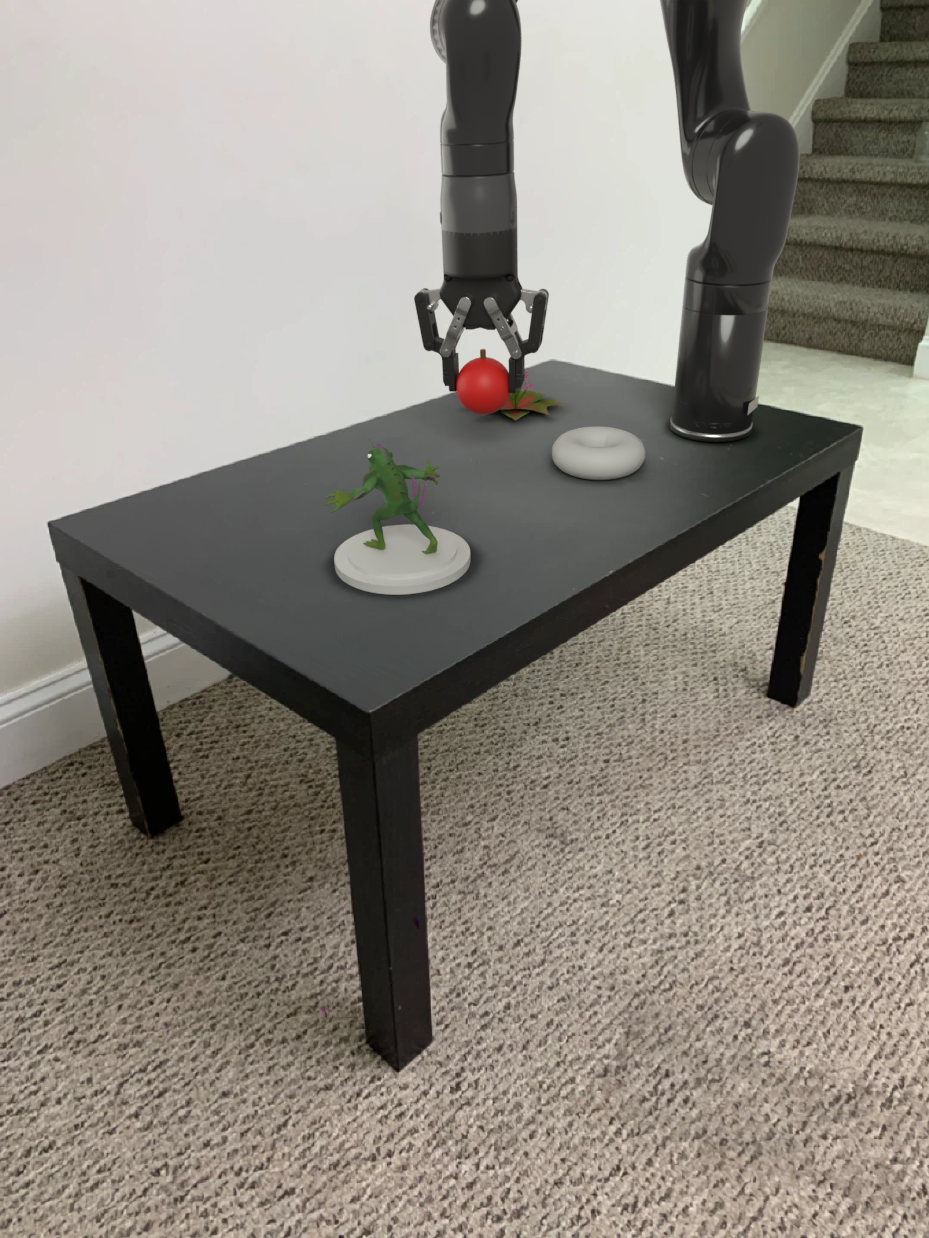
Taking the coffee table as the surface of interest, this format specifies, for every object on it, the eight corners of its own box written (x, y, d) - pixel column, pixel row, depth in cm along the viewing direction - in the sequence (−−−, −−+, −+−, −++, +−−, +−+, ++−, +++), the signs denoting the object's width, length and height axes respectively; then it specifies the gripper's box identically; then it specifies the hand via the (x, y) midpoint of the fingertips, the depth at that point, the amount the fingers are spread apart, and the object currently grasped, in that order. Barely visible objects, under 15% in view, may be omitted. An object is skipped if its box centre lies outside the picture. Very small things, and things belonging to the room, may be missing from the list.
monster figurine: (423, 521, 90) (418, 418, 85) (497, 567, 82) (497, 456, 77) (311, 555, 85) (298, 447, 79) (378, 609, 76) (369, 491, 71)
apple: (463, 403, 106) (461, 341, 102) (516, 405, 104) (515, 342, 101) (451, 421, 101) (448, 357, 97) (506, 423, 99) (505, 358, 96)
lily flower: (515, 432, 112) (515, 394, 109) (448, 409, 119) (447, 374, 117) (582, 409, 119) (584, 373, 116) (515, 389, 126) (515, 355, 124)
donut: (545, 483, 98) (642, 487, 96) (546, 452, 97) (644, 455, 95) (557, 450, 107) (646, 453, 105) (557, 420, 105) (648, 423, 103)
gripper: (556, 217, 94) (554, 382, 103) (418, 218, 97) (427, 378, 106) (546, 229, 88) (545, 403, 97) (398, 230, 91) (410, 399, 100)
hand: (483, 390), depth 101 cm, fingers closed on apple, 6 cm apart
